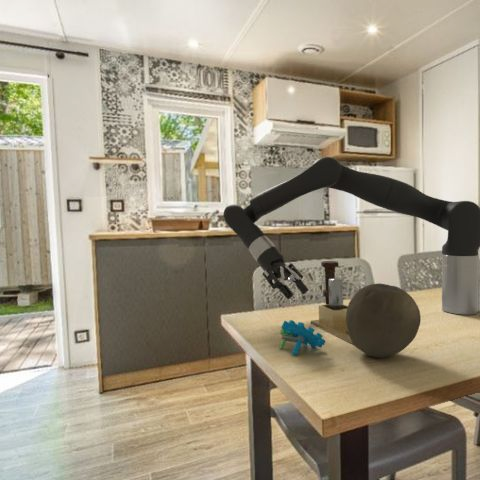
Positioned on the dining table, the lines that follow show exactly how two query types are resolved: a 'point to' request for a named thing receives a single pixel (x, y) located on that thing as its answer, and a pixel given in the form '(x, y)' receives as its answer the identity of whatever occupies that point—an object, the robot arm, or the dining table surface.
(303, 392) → the dining table surface
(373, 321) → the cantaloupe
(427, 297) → the dining table surface
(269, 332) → the dining table surface
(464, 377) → the dining table surface
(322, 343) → the blue lobed toy
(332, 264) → the bolt
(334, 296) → the pin
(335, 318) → the hinge leaf
